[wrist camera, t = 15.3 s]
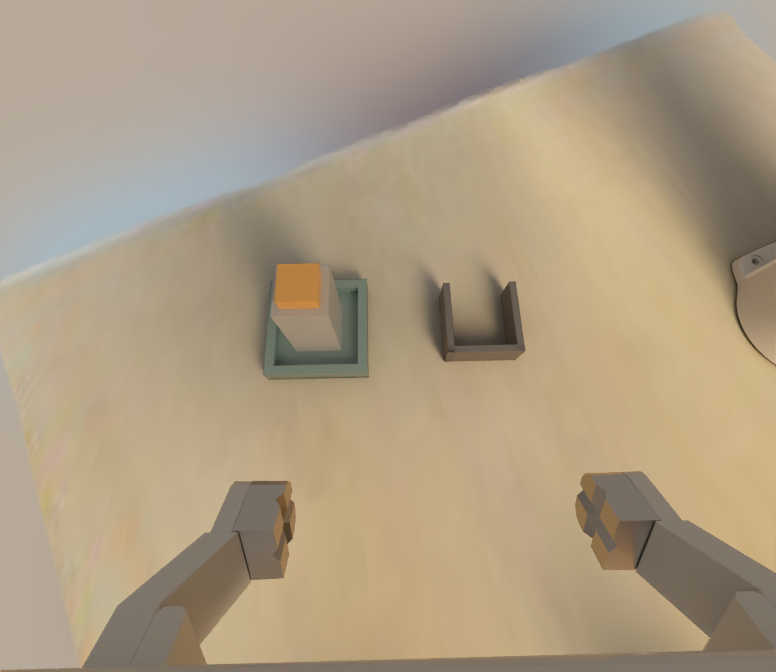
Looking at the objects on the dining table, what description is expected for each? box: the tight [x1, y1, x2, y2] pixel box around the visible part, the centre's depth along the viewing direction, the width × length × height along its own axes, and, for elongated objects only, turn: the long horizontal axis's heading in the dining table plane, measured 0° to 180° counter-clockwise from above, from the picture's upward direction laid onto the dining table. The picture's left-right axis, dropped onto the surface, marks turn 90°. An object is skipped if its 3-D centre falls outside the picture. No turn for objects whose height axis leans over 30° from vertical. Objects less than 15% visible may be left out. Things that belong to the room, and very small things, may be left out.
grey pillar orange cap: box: [271, 263, 342, 352], centre depth 40 cm, size 5×5×12 cm
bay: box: [439, 281, 525, 361], centre depth 45 cm, size 8×8×4 cm
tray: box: [263, 279, 368, 380], centre depth 45 cm, size 11×11×2 cm
